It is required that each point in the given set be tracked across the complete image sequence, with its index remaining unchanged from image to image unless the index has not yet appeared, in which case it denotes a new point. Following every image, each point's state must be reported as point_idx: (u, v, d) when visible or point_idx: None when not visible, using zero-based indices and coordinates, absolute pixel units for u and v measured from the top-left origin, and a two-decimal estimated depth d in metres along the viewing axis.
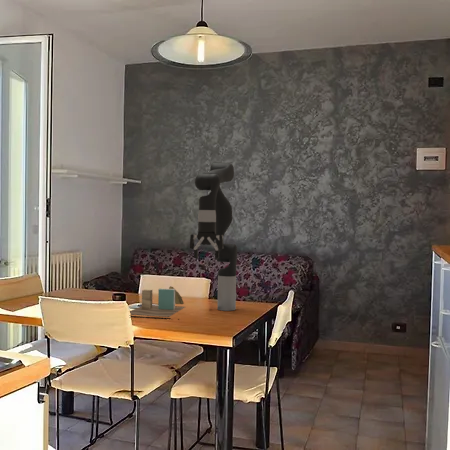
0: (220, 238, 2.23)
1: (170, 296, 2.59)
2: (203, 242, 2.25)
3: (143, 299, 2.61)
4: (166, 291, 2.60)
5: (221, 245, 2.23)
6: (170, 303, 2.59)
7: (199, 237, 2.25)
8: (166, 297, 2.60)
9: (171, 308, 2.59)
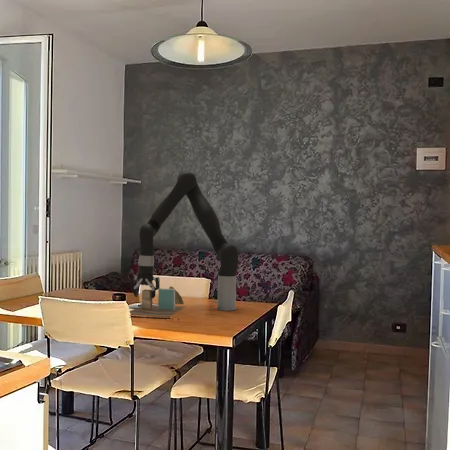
0: (156, 280, 2.60)
1: (170, 296, 2.59)
2: (142, 283, 2.62)
3: (143, 299, 2.61)
4: (166, 291, 2.60)
5: (157, 286, 2.60)
6: (170, 303, 2.59)
7: (139, 278, 2.62)
8: (166, 297, 2.60)
9: (171, 308, 2.59)
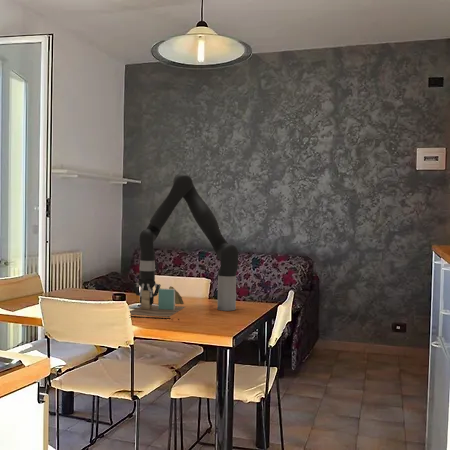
0: (157, 287, 2.60)
1: (170, 296, 2.59)
2: (145, 287, 2.62)
3: (143, 299, 2.61)
4: (166, 291, 2.60)
5: (155, 293, 2.61)
6: (170, 303, 2.59)
7: (140, 285, 2.62)
8: (166, 297, 2.60)
9: (171, 308, 2.59)
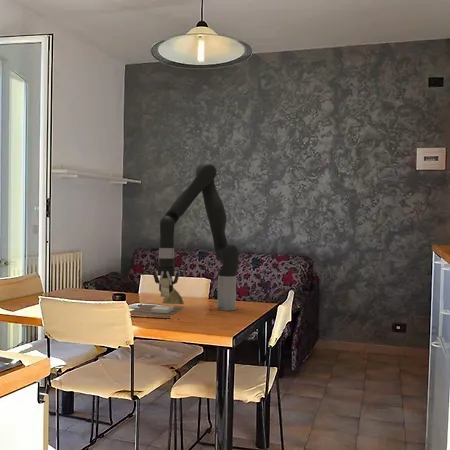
0: (176, 275, 2.57)
1: None
2: (164, 275, 2.59)
3: (162, 286, 2.58)
4: None
5: (175, 280, 2.58)
6: None
7: (159, 272, 2.59)
8: None
9: None
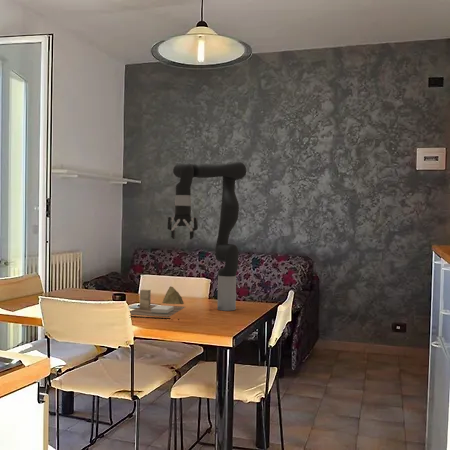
0: (194, 220, 2.51)
1: None
2: (179, 224, 2.52)
3: (141, 299, 2.61)
4: None
5: (195, 226, 2.51)
6: None
7: (176, 219, 2.53)
8: None
9: None
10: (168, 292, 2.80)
